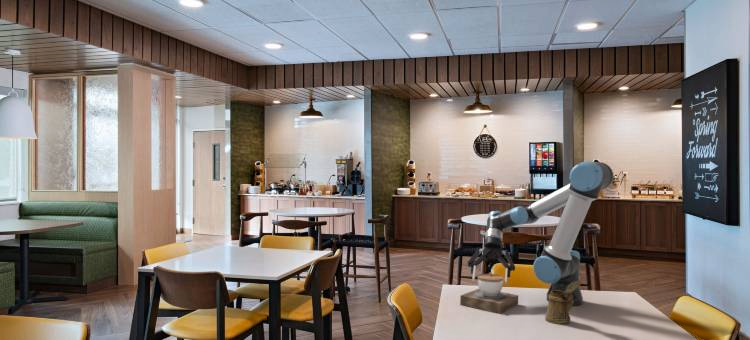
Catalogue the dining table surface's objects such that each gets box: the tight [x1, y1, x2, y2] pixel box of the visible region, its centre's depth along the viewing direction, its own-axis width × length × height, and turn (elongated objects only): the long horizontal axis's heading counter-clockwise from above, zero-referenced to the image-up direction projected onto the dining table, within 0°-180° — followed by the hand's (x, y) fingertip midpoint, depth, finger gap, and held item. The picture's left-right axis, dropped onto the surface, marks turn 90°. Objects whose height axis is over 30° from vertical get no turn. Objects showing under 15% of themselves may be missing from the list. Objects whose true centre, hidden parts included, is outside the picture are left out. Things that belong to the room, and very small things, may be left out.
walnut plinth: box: [459, 288, 519, 314], centre depth 217 cm, size 18×18×4 cm
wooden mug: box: [544, 279, 581, 325], centre depth 195 cm, size 9×14×18 cm, turn 28°
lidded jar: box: [477, 272, 504, 296], centre depth 217 cm, size 11×11×9 cm
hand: (489, 281), depth 215 cm, fingers open, 13 cm apart
